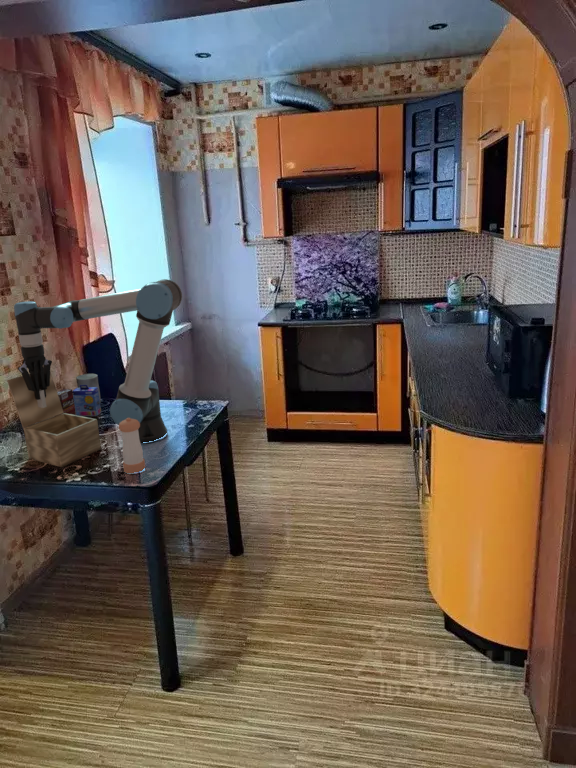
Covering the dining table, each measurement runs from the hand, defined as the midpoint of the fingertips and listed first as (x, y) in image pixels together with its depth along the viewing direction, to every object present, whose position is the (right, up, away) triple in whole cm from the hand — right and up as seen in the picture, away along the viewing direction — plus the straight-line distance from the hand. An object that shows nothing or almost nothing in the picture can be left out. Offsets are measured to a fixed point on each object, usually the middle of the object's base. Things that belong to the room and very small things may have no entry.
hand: (42, 406), depth 207 cm
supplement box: (-2, -10, +28) cm, 30 cm away
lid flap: (-2, +4, 0) cm, 4 cm away
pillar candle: (-3, -1, +60) cm, 60 cm away
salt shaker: (+39, -21, -16) cm, 47 cm away
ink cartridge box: (+1, -6, +44) cm, 45 cm away
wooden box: (+8, -18, +1) cm, 19 cm away
